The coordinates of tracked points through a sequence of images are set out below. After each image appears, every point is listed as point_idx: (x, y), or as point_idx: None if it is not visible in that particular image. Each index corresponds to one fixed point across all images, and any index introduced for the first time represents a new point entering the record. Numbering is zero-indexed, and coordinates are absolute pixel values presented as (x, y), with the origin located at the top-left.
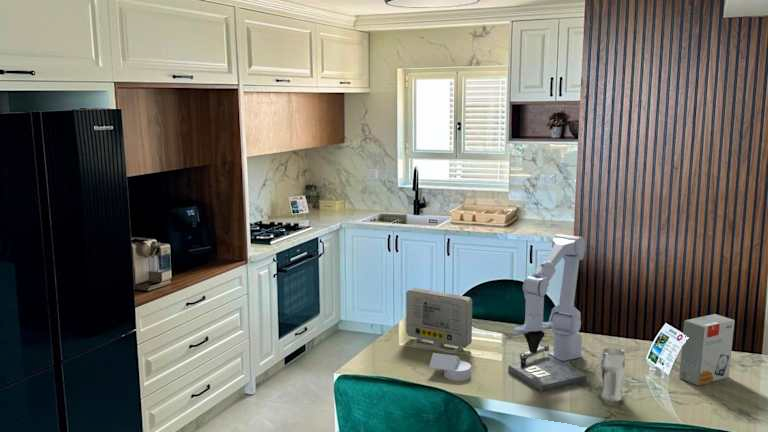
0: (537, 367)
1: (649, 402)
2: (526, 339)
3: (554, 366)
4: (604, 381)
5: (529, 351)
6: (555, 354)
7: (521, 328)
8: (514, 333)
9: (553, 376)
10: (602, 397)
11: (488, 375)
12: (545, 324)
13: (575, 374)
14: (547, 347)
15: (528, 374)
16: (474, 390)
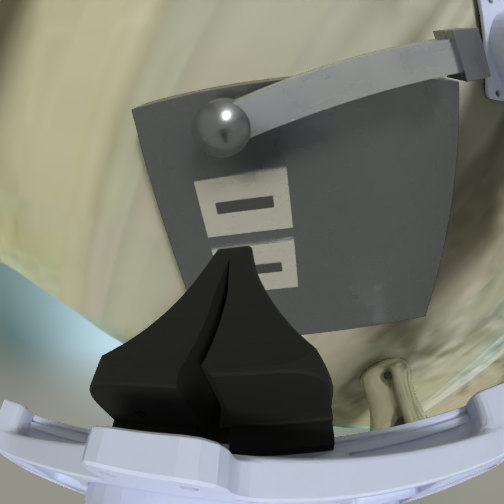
0: (283, 198)
1: (428, 390)
2: (162, 320)
3: (383, 209)
4: (370, 420)
5: (302, 89)
6: (495, 44)
7: (51, 477)
8: (10, 411)
9: (299, 298)
10: (362, 377)
11: (52, 127)
12: (411, 491)
13: (396, 304)
14: (472, 78)
15: (193, 251)
16: (6, 240)
